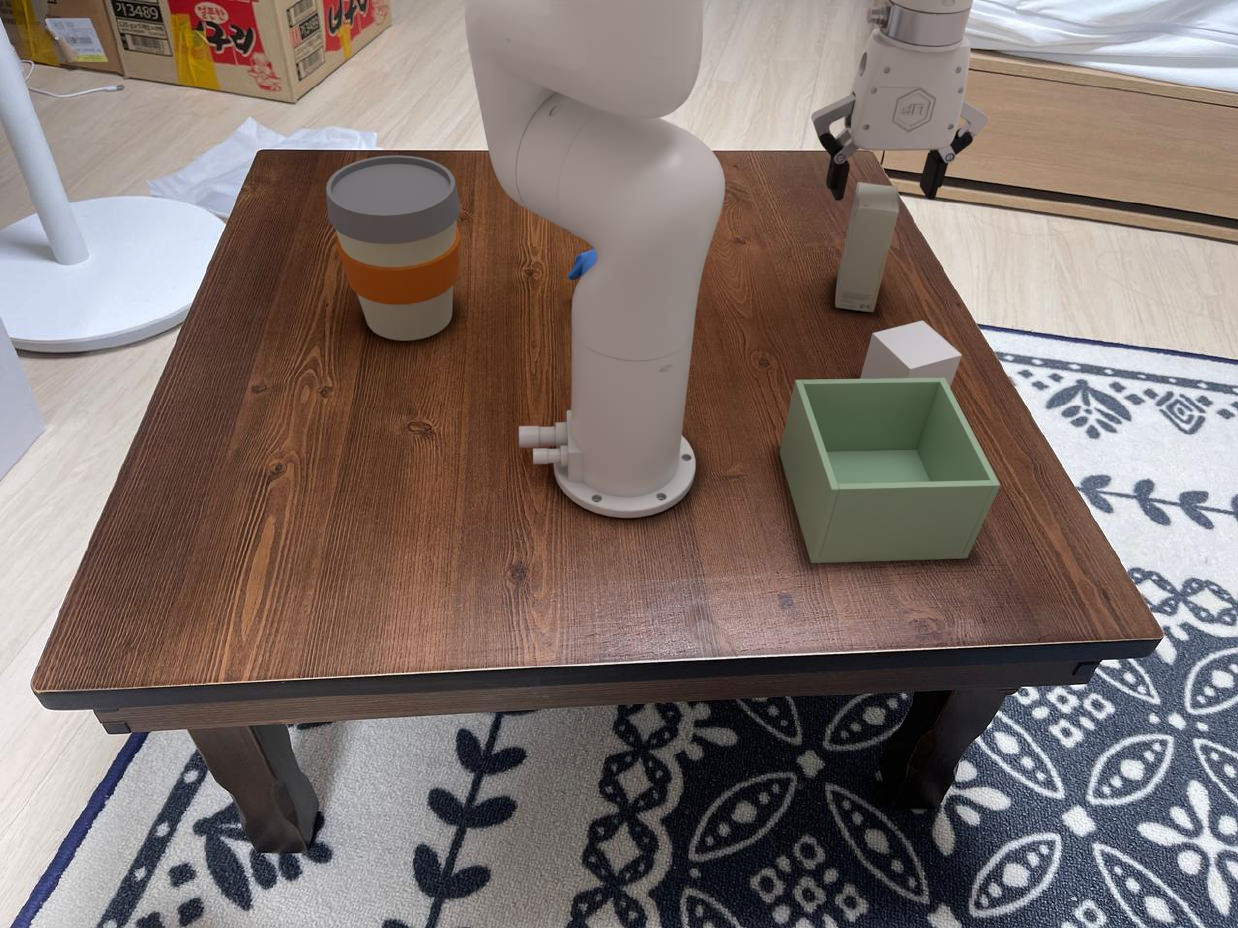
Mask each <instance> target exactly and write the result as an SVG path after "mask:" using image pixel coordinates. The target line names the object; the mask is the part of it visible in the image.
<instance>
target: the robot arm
mask: <svg viewBox="0 0 1238 928" xmlns="http://www.w3.org/2000/svg"><path fill="white" fill-rule="evenodd" d="M973 3H974V0H882V1H881V4H879V5H877V6H869V7H868V9H867V11H866V22H867V24H874V25H876V26H878V27H879V28H874V29H872V31H871V33H870V35H869V38H868V40H867V42H866V44H865V47H864V48H863V52H862V54H861V56H860V60H859V62H858V65H857V69H856V71H855V75H854V78H853V81H852V85H851V88H850V92H849V95H847V96H845V97H843V98H841V99H839V100H837V101H834V102H833V103H830V104H829V105H826V106H824V107H822V108H820V109H817V110H816V111H814V112H812V114H811V116H810V117H811V121H812V124H813V127H814V130H815V133H816V136H817V139H818V140H819V142H820V145H821V146H822V148H824V150H825V151H826V152H827V154H828V155H829V156H830V158H829V164H828V169H827V174H826V178H825V186H826V189H828V190H830V192H831V194H832V196H833V199H834V201H836V202H837V201H842V200H844V197H845V192H846V187H847V184H848V183H847V182H848V179H849V173H850V170H851V164H850V163H849V161H848V159H849V158H850V157H851V156H853V155H854V154H855V153H856V152H857V151H859V149H861V150H864V151H872V152H873V151H879V152H880V151H882V152H883V151H884V152H885V151H886V152H891V151H892V152H893V151H894V152H895V151H896V152H897V151H898V152H899V151H901V152H902V151H905V152H906V151H907V152H908V151H929V152H928V153H927V155H926V159H925V162H924V166H923V170H922V173H921V177H920V179H919V180H920V181H919V188H920V189H921V191H922V192H923V194H924V196H925V197H926V199H928V200H929V201H930V200H932V201H933V200H935V199H936V197H937V193H938V190H939V189H940V188H942V186H943V184H944V180H945V177H946V173H947V170H948V168H949V167H948V166H949V164H951V163H953V162H954V161H955V159H956V158H957V155H958V154H960V153H961V152H962V151H964V150H965V149H966V148H968V147H969V146H970V145H972V143H973V141H974V138H975V136H977V135H978V134H979V133H980V132H981V131H982V129H983V128H984V127H985V126H986V124H987V123H988V121H989V118H988V116H987V115H986V114H985V113H984V111H983V110H981V109H979V108H978V107H976V106H975V105H973V104H972V103H970V102H968V101H967V100H966V99H965V95H966V89H967V84H968V76H969V69H970V61H971V49H972V48H971V44H972V42H971V40H970V39H969V38H968V37H967V36H965V31H966V29H967V26H968V22H969V18H970V14H971V11H972V6H973ZM464 21H465V22H464V23H465V24H464V25H465V35H466V39H467V40H466V41H467V45H468V52H469V57H470V64H471V68H472V73H473V79H474V83H475V89H476V94H477V99H478V105H479V109H480V115H481V120H482V125H483V130H484V135H485V139H486V145H487V149H488V153H489V158H490V161H491V166H492V168H493V172H494V174H495V176H496V179H497V181H498V183H499V184H500V186H501V188H502V189H503V191H504V192H505V194H506V195H507V197H509V198H510V199H511V200H512V201H514V203H516V204H518V205H519V206H521V207H522V208H524V209H525V210H527V211H529V212H531V213H533V214H535V215H536V216H538V217H540V218H542V219H544V220H546V221H548V222H550V223H552V224H554V225H556V226H557V227H560V228H561V229H564V230H565V231H567V232H569V233H571V234H572V235H574V236H575V237H577V238H579V239H581V240H583V241H585V242H586V243H588V245H590V246H591V247H592V248H594V249H595V251H596V255H597V259H596V263H595V264H594V265H593V266H592V267H591V268H590V269H589V270H588V271H587V272H586V273H585V274H584V275H583V276H582V277H581V276H580V278H579V280H578V282H577V283H576V285H575V289H574V291H573V293H572V301H571V384H570V385H571V393H570V394H571V395H570V397H571V398H570V399H571V401H570V402H571V403H570V404H571V407H570V409H568V410H566V421H556V422H555V424H554V426H540V425H519V426H518V448H519V449H531V448H532V465H548V464H553V474H554V478H555V480H556V482H557V483H556V484H557V485H558V487H559V488H560V489H561V491H562V492H563V493H564V495H566V496H567V497H568V498H569V499H570V500H571V501H572V502H574V503H575V504H577V505H578V506H580V507H581V508H583V509H585V510H588V511H590V512H593V513H594V514H597V515H602V516H606V517H611V518H621V519H633V518H634V519H635V518H636V519H637V518H642V517H648V516H653V515H655V514H660V513H662V512H664V511H666V510H668V509H670V508H671V507H673V506H675V505H677V504H678V503H679V502H681V500H683V499H684V498H685V496H686V495H687V494H688V493H689V491H690V490H691V488H692V486H693V483H694V480H695V474H696V467H697V463H696V456H695V452H694V450H693V448H692V446H691V444H690V442H689V441H688V440H687V439H686V438H685V437H684V436H683V427H684V419H685V409H686V402H687V392H688V385H689V376H690V367H691V358H692V350H693V342H694V333H695V322H696V313H697V306H698V300H699V299H698V298H699V293H700V286H701V281H702V277H703V276H702V275H703V271H704V268H705V265H706V261H707V256H708V253H709V250H710V247H711V245H712V240H713V237H714V236H715V235H714V234H715V232H716V229H717V225H718V223H719V221H720V217H721V214H722V210H723V206H724V202H725V201H724V200H725V196H726V179H725V173H724V169H723V167H722V164H721V162H720V161H719V159H718V157H717V156H716V155H715V153H714V151H713V150H711V148H710V147H709V146H708V145H707V144H706V143H705V142H704V141H703V140H701V139H700V138H699V137H698V136H696V135H695V134H694V133H693V134H692V133H691V132H690V131H688V130H686V129H685V128H682V127H681V126H679V125H677V124H675V123H672V122H670V121H668V120H666V119H664V118H663V117H666V116H669V115H671V114H672V113H674V112H676V111H677V110H678V109H679V108H680V107H681V106H682V105H684V103H686V101H687V100H688V99H689V97H690V96H691V93H692V92H693V90H694V87H695V86H696V83H697V80H698V76H699V73H700V69H701V62H702V54H703V43H704V39H703V38H704V0H465V3H464ZM843 118H844V120H843V121H844V129H842V130H841V131H840V132H839V133H838V134H837V135H836V136H834V135H833V134H832V132H831V129H830V128H831V125H832V124H833V123H835V122H837V121H839V120H841V119H843ZM961 118H962V119H963V120H965V121H964V123H963V124H962V125H963V126H962V127H960V128H958V127H959V123H960V119H961ZM540 447H545V448H540ZM547 447H555V448H547Z"/></svg>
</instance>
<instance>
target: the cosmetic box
mask: <svg viewBox="0 0 1238 928" xmlns="http://www.w3.org/2000/svg"><path fill="white" fill-rule="evenodd" d="M899 213H900V197H899V188H898V186H896V185H895V186H894V185H886V184H879V183H870V182H863V181H862V182H861V181H858V182H857V183H856V188H855V192H854V197H853V202H852V206H851V212H850V217H849V221H848V226H847V231H846V236H845V241H844V245H843V250H842V255H841V258H840V264H839V270H838V273H837V274H838V275H837V279H836V286H835V287H836V288H835V301H834V302H835V303H834V304H835V305H834V307H835V308H836V309H843V310H850V311H857V312H858V311H859V312H867V313H874V312H875V309H876V305H877V301H878V296H879V292H880V287H881V285H882V280H883V275H884V272H885V267H886V264H887V260H888V257H889V256H888V255H889V252H890V247H891V243H892V239H893V235H894V233H895V227H896V223H897V220H898V217H899Z"/></svg>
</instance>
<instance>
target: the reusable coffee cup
mask: <svg viewBox="0 0 1238 928" xmlns="http://www.w3.org/2000/svg"><path fill="white" fill-rule="evenodd" d="M325 193H326V207H327V218H328V222H329V223H330V224H331V226H332V227H333V229H335V232H336V240H335V244H336V248H337V252H338V255H339V258H340V260H341V264H342V266H343V269H344V272H345V275H346V278H347V280H348V283H349V286H350V288H351V289H352V291H353V292H355V293H356V295H357V297H358V301H359V304H360V306H361V309H362V312H363V315H364V318H365V321H366V324H367V326H368V328H369V329H370V330H372V332H373V333H374V334H376V335H378V336H379V337H383V338H385V339H389V340H394V341H403V342H404V341H405V342H407V341H416V340H422V339H425V338H429V337H431V336H434V335H436V334H438V333H440V332H441V331H443V330H444V329H446V327H448V325H449V323H450V322H451V321H452V317H453V303H454V302H453V300H454V285H455V283H456V282H457V279H458V277H459V262H460V244H461V232H460V230H459V227H458V226H457V222H458V221H457V219H458V218H459V216H460V213H461V202H460V199H459V194H458V193H459V192H458V188H457V183H456V179H455V177H454V175H453V173H452V172H451V171H450V170H449V168H447V167H445V165H443V164H441V163H439V162H437V161H434V160H432V159H428V158H424V157H420V156H412V155H400V154H399V155H398V154H397V155H382V156H381V155H380V156H374V157H367V158H364V159H361V160H358V161H354V162H352V163H350V164H347V165H345V166H343V167H342V168H340V169H338V170H337V171H335V172H334V173H333V174H332V175H331V176H330V177H329V178H328V181H327V182H326V187H325Z"/></svg>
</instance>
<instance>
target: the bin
mask: <svg viewBox="0 0 1238 928" xmlns="http://www.w3.org/2000/svg"><path fill="white" fill-rule="evenodd" d="M790 398H791V399H790V403H789V408H788V412H787V416H786V421H785V426H784V430H783V435H782V440H781V444H780V449H779V456H780V460H781V465H782V467H783V470H784V474H785V477H786V481H787V484H788V488H789V490H790V494H791V499H792V501H793V505H794V508H795V512H796V516H797V519H798V523H799V526H800V529H801V533H802V536H803V540H804V544H805V547H806V550H807V554H808V557H809V561H810V564H828V563H829V564H832V563H833V564H834V563H853V562H854V563H862V562H865V563H866V562H894V561H895V562H896V561H925V560H926V561H928V560H956V559H959V560H960V559H968V557H969V556H970V553H971V550H972V548H973V546H974V544H975V542H976V540H977V538H978V536H979V533H980V531H981V529H982V527H983V524H984V523H985V520H986V518H987V516H988V513H989V511H990V509H991V507H992V505H993V502H994V500H995V497H996V496H997V493H998V492H999V489H1000V487H1001V483H1000V482H999V480H998V478H997V476H996V474H995V472H994V469H993V467H992V466H991V464H990V462H989V460H988V458H987V456H986V455H985V453H984V450H983V449H982V447H981V445H980V443H979V441H978V439H977V437H976V435H975V433H974V431H973V429H972V427H971V426H970V424H969V422H968V420H967V418H966V415H965V414H964V413H963V409H962V408H961V406H960V405H959V402H958V401H957V399H956V397H955V395H954V393H953V390H952V389H951V387H949V385H948V383H947V381H946V379H945V378H882V379H860V378H834V379H833V378H827V379H826V378H823V379H822V378H821V379H820V378H819V379H795V380H794V384H793V388H792V394H791V397H790Z"/></svg>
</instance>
